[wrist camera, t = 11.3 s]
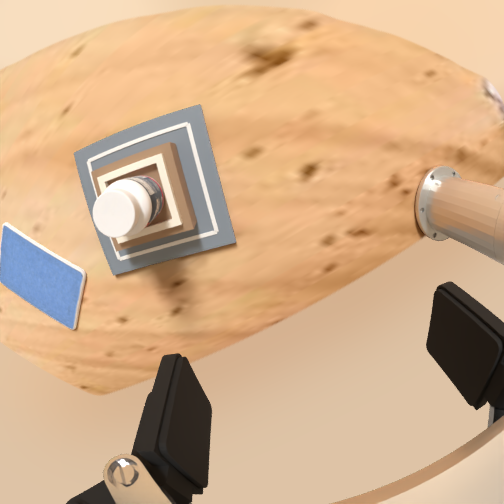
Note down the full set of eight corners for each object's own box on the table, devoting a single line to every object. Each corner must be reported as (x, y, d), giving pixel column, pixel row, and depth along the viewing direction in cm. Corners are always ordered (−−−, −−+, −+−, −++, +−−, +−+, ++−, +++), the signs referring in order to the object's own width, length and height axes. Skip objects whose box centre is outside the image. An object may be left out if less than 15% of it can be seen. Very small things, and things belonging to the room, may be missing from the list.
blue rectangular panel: (1, 279, 34) (-3, 282, 33) (6, 219, 31) (1, 221, 30) (77, 328, 39) (74, 332, 38) (89, 269, 36) (85, 272, 34)
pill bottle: (148, 230, 29) (121, 258, 21) (113, 204, 28) (76, 223, 20) (174, 192, 28) (154, 207, 20) (137, 165, 27) (105, 170, 19)
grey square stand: (200, 105, 30) (196, 95, 24) (235, 240, 36) (238, 255, 31) (76, 152, 29) (54, 153, 24) (115, 273, 36) (100, 290, 30)
